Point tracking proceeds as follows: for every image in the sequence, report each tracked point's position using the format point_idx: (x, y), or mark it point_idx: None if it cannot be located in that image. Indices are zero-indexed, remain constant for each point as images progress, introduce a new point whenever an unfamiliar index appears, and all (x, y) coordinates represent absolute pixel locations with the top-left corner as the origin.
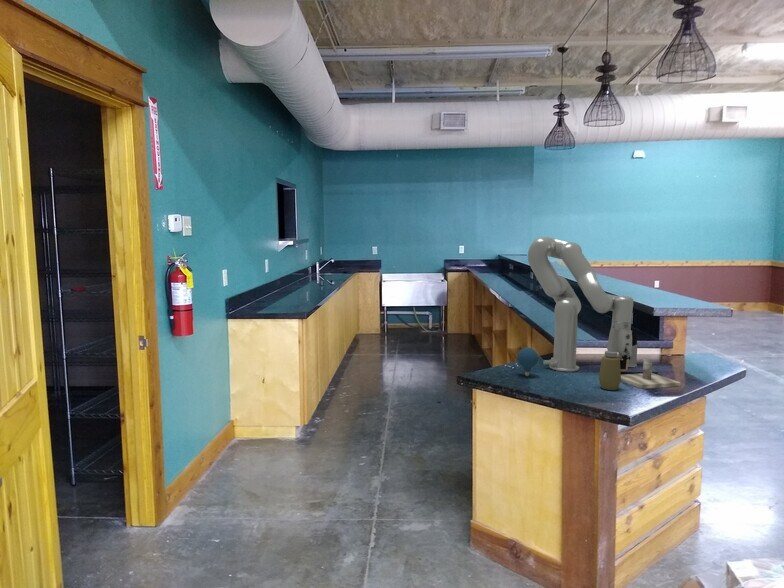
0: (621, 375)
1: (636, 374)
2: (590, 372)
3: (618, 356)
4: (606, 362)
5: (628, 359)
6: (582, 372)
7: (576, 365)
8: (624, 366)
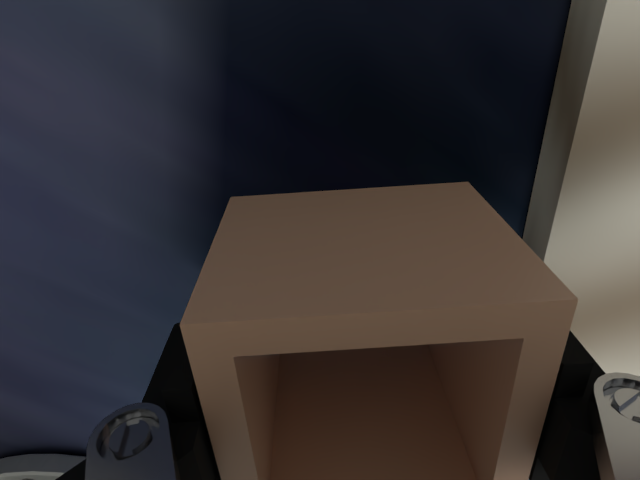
0: None
1: (624, 108)
2: None
3: (236, 370)
4: None
5: (574, 300)
6: None
7: (32, 477)
8: None
